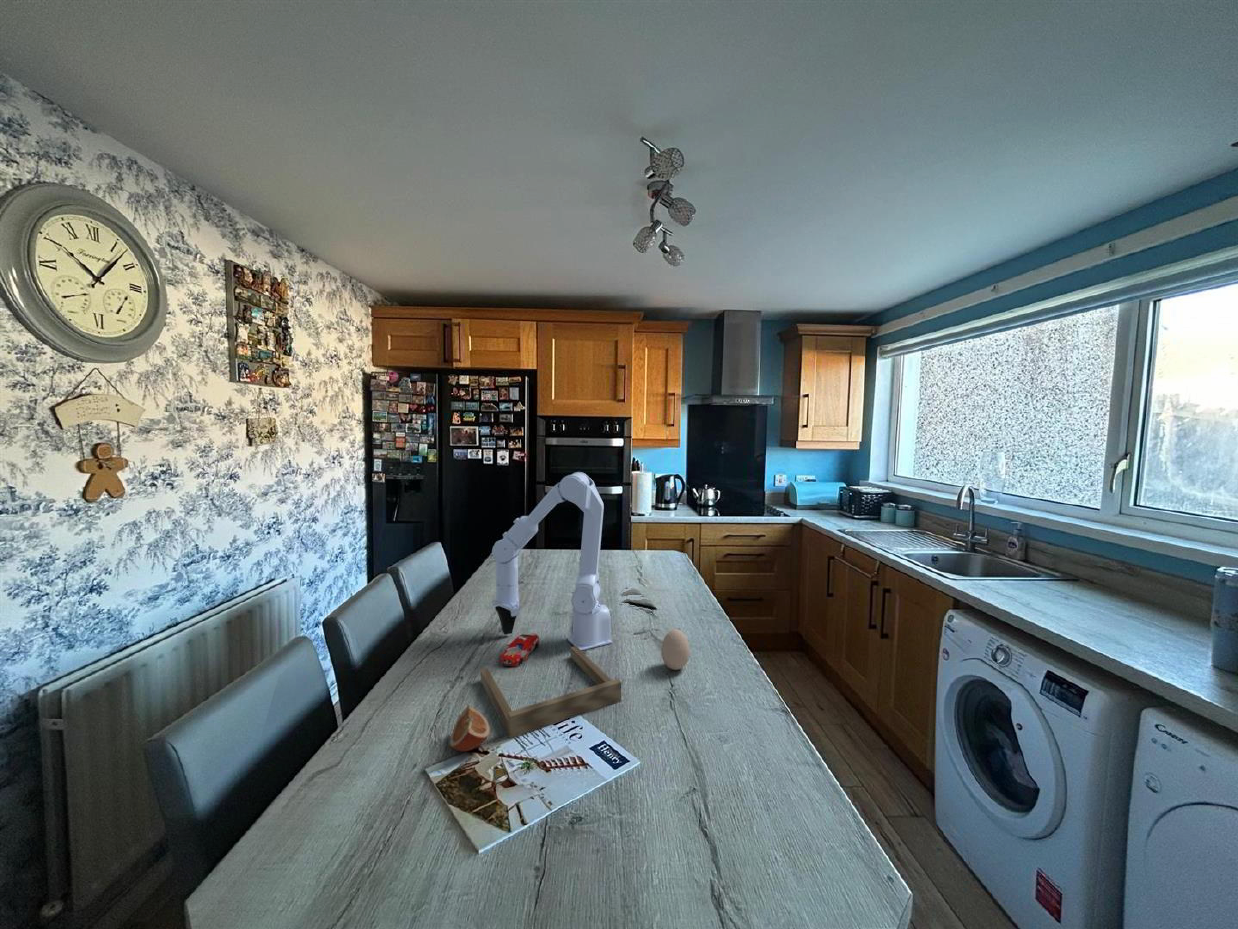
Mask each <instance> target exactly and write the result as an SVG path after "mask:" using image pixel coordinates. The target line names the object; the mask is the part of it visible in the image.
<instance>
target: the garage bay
mask: <svg viewBox="0 0 1238 929" xmlns="http://www.w3.org/2000/svg"><path fill="white" fill-rule="evenodd" d="M570 658H571V660H572V661H574V663H576V664H577V665H578V666H579V668H580V669H581V670H582V671H583V672H584V673H585V674H586V675H587V676H588V677H589V678H590V679H591V680H592V681H593V682H594V683H595V684H596V685H593V686H590V687H587V688H586V687H585V688H583V689H580V690H576V691H574V692H573V691H572V692H569V693H567V694H562V695H560V696H556V697H553V698H550V699H547V700H544V701H540V702H537V703H534V704H530V705H528V706H524V707H520V708H518V709H514V710H512V708H511V706H510V705H509V703H508V702H507V700H506V698H505V696H504V694H503V692H501V689H500V688H499V685H498V684H497V682H496V681H495V679H494V677H493V675H492V674H491V672H490V670H489V668H484V669H481V670H480V683H481V684H482V686H483V688H484V690H485V692H486V694H487V696H488V698H489V700H490V701H491V703H492V707H494V709H495V711H496V714H497V715H498V717H499V719H500V721H501V723H502V725H503V726H504V727H503V728H504V729H505V731H506V733H507V735H508V736H509V738H510V739H513V738H515V737H518V736H520V735H524V734H527V733H530V732H533V731H536V730H539V729H542V728H545V727H548V726H550V724H551V725H554V724H557V723H560V722H563V721H566V720H569V719H572V718H575V717H578V716H580V715H583V714H587V713H589V712H594V711H595V710H599V709H602V708H604V707H607V706H610V705H611V706H612V705H614V704H617V703H619V702H622V681H621V680H620V679H619V678H616V679H611V677H610V676H608V675H607V674H606V673H605V671H604V670H602V669H601V668H600V667H599V666H598V665H597V663H595V662H593V661H592V659H591V658H590V657H588V656H587V655H586V654H585V652H584V651H583V650H582V651H581V650H580V649H579V648H578V647H577V646H572V647H570ZM568 718H569V719H568ZM565 719H566V720H565Z"/></svg>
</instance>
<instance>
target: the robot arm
mask: <svg viewBox="0 0 1238 929" xmlns="http://www.w3.org/2000/svg"><path fill="white" fill-rule="evenodd" d="M565 501H568V502H571V503H573V504H575V505H576V506H577V507H578V508H579V509H580V510H581V511H582V512H583V521H582V523H583V524H582V533H581V545H580V546H581V548H580V556H579V557H580V558H579V560H580V561H579V570H578V576H577V580H576V584H575V589H574V592H573V594H572V595H571V598H570V599H571V600H570V603H571V606H572V635H570V636H567V637H566V639H567V640H568V642H570V644H571V645H573V647H575V646H577V647H578V648H579V649H580V650H581V651H582V652H583V651H586V650H589V649H593V648H597V647H600V646H605V645H608V644H611V643H613V641H612V639H611V638H612V637H611V636H612V635H611V634H612V633H611V632H612V631H611V628H612V627H611V625H612V618H611V613H610V610H609V608H608V606H607V605H605V604H601V603H600V601H599V598H600V597H601V594H602V586H601V583H600V573H599V564H600V555H601V554H600V552H601V542H602V531H603V520H604V509H605V507H604V502H603V500H602V498H601V496H600V493H599V491H598V490H597V488H596V484H595V482H594V480H592V478H590V477H589V475H587V474H586V473H584V472H581V471H577V472H573V473H572V474H568V475H566V476H563V478H562V479H561V480H560V482H557V483H556V484H555V485H554V486H553V487H552V488H551V489H550V490H549V491H548V492H547V493H546V495H545V496H544V497H542V499H541V501H540V502H539V503H538V504H537V505H536V506H535V507H534V509H533V510H532V511H531V512H530V514H529V515H522V516H520V517H517V518H515V519H514V520H513V523H514V524H513V525H512V526H511V527H510V528H509V530H508V531H505V532H504V533H503V534H502V537H503V538H502V539H500V540H497V541H496V542H495V543H494V545H493V546H492V550H491V555H492V557H493V558H494V560H495V599H493V600H491V605H492V606H495V607H494V609H495V611H496V613H497V615H498V618H499V621H500V626H501V630H502V633H503V635H511V634H512V633H513V630H514V627H515V623H516V619H517V616H520V610H521V608H520V598H519V562H518V561H519V560H518V559H519V558H518V557H519V554H520V553H521V552H522V549H523V548H524V547H525V546H526V545H527V544H528V542H529V541H530V540H531V539H533V537H534V536H536V534H537V533H538V531H539V523H540V522H541V521H542V520H543V519H544V518H545V517H546V516H547V515H548V514H549V513H550V512H551V510H553V509H554V508H555V507H556V506H557V504H560V503H563V502H565Z"/></svg>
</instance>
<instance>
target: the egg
mask: <svg viewBox="0 0 1238 929" xmlns="http://www.w3.org/2000/svg"><path fill="white" fill-rule="evenodd" d="M690 647H691V646H690V643H689V640H688V639H687V636H686V635H685V634H684V633H683V632H682V631H681V630H679V629H672V630H669V631H668V632H667V633H666V635H665V636H664V638H663V639H662V641H661V647H660V651H661V654H660V655H661V659H662V660H663V662H664V664H665V665H666V666H667V667H668V668H669V669H671V670H674V671H677V670H681V669H683V668H684V667H685V666H686V665H687V663H688V662H689V660H690V655H691V648H690Z"/></svg>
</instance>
